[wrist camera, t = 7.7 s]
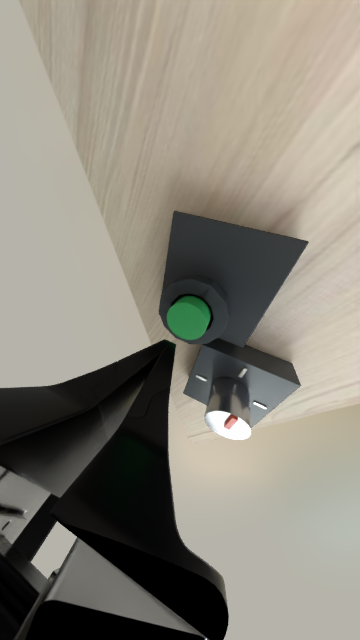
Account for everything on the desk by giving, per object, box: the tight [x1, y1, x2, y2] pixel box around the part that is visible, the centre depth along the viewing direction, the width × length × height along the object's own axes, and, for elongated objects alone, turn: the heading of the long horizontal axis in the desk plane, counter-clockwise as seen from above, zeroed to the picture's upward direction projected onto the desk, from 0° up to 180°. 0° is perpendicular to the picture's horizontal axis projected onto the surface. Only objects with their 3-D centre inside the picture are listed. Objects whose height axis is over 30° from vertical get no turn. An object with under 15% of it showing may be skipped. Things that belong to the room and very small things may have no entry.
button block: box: [159, 211, 309, 348], centre depth 14 cm, size 10×11×4 cm
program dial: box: [204, 378, 251, 440], centre depth 16 cm, size 4×4×4 cm
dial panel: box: [183, 338, 301, 428], centre depth 18 cm, size 10×10×3 cm
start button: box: [167, 296, 211, 340], centre depth 13 cm, size 4×4×2 cm
